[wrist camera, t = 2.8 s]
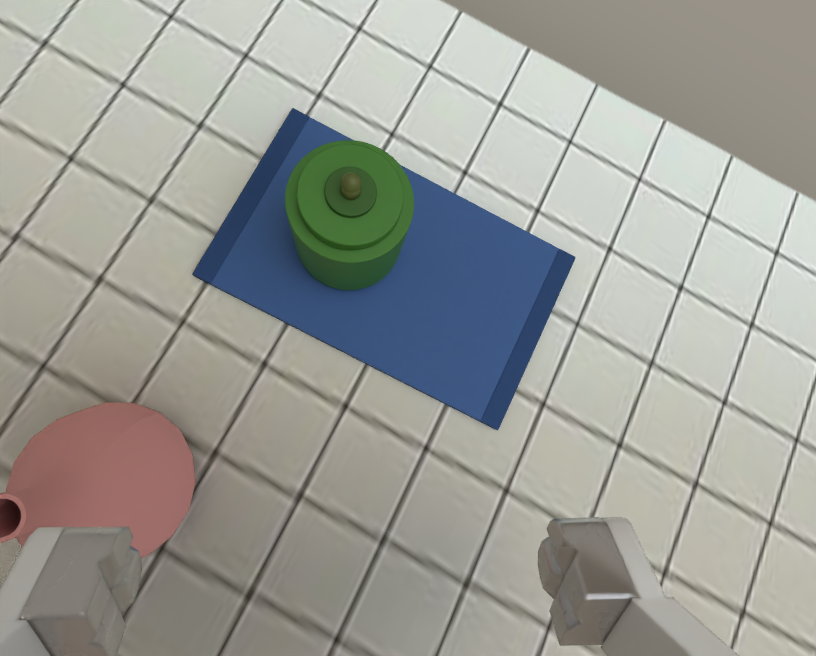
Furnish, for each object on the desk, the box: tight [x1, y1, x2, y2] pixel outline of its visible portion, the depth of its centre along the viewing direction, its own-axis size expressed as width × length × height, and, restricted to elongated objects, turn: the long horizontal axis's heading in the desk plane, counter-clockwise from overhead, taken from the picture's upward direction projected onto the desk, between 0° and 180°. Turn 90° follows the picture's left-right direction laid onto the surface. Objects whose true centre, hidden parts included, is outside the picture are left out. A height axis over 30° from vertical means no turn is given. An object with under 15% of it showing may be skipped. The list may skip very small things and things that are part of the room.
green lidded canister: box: [285, 140, 414, 290], centre depth 28 cm, size 6×6×9 cm
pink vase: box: [0, 403, 196, 558], centre depth 23 cm, size 8×8×12 cm
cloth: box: [193, 108, 575, 430], centre depth 32 cm, size 20×12×1 cm, turn 64°
